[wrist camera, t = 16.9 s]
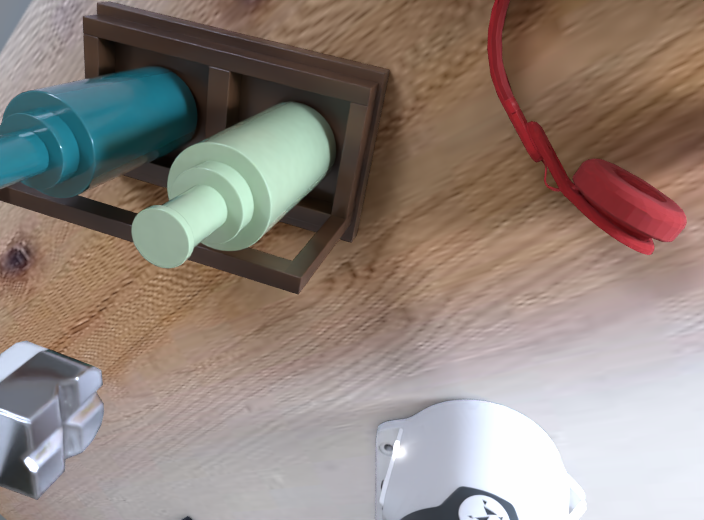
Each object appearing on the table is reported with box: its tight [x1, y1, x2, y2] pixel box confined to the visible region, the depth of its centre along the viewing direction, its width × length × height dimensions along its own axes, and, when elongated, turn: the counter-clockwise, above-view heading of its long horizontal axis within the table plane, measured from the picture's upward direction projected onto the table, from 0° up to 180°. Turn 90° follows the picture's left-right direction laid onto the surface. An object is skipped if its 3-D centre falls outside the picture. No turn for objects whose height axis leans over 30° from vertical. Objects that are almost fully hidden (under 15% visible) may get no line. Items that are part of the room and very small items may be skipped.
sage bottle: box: [132, 102, 336, 268], centre depth 37 cm, size 6×6×18 cm
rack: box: [0, 2, 390, 294], centre depth 41 cm, size 13×22×13 cm, turn 80°
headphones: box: [487, 0, 686, 255], centre depth 35 cm, size 15×7×20 cm
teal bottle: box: [0, 66, 197, 198], centre depth 38 cm, size 6×6×18 cm
